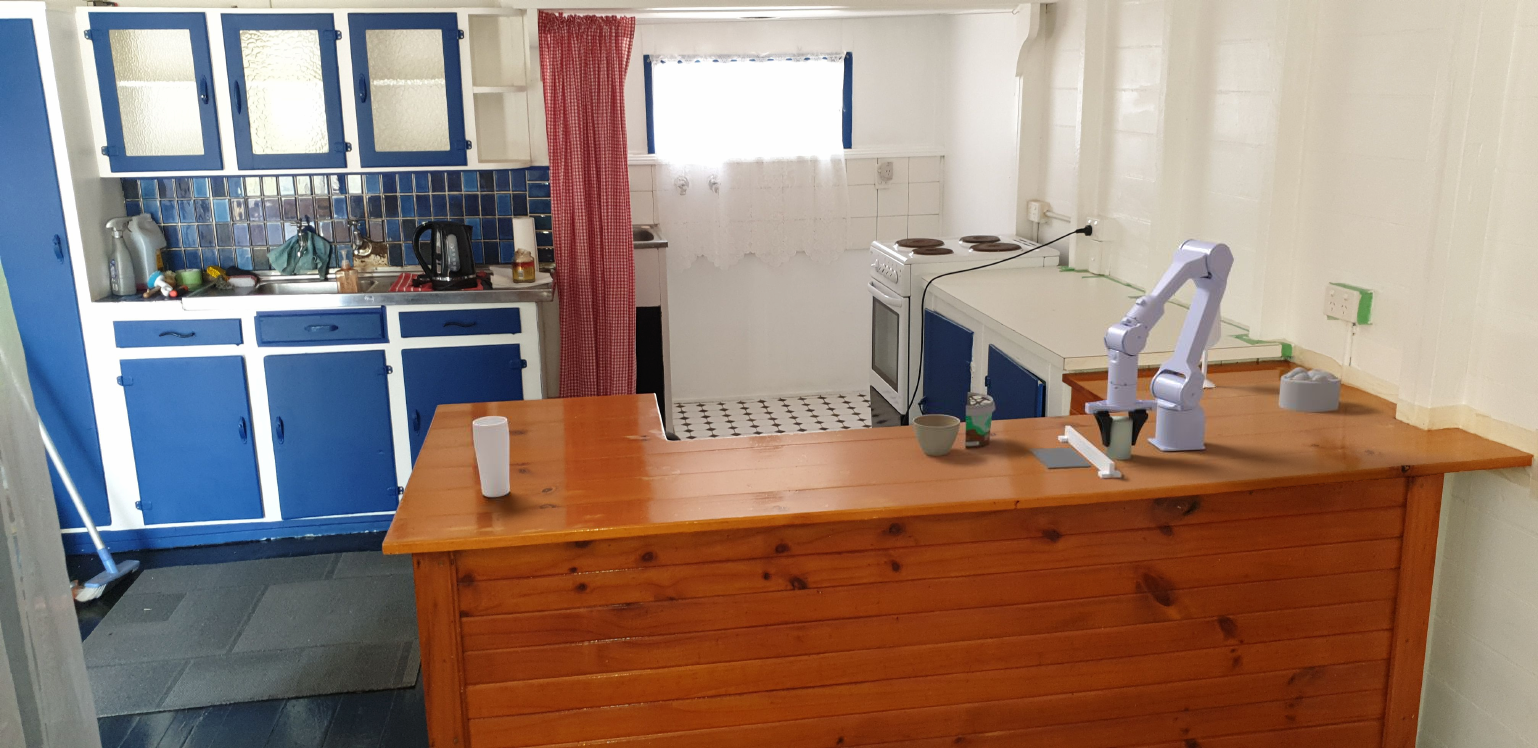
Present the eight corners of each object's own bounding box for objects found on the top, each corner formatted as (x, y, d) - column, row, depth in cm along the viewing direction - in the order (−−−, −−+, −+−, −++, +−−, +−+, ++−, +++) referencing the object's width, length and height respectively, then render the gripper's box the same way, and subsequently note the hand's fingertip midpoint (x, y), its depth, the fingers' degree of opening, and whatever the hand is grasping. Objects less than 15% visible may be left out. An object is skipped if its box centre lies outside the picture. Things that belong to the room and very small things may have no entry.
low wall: (1075, 438, 247) (1076, 425, 246) (1121, 477, 222) (1122, 462, 221) (1058, 439, 247) (1058, 426, 246) (1101, 478, 222) (1102, 463, 221)
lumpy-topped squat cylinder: (1344, 409, 264) (1348, 374, 262) (1295, 414, 262) (1298, 378, 260) (1315, 398, 274) (1318, 364, 272) (1267, 402, 272) (1270, 368, 270)
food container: (994, 452, 239) (995, 407, 237) (965, 451, 240) (965, 406, 238) (994, 435, 251) (995, 392, 248) (966, 434, 252) (967, 391, 250)
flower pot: (965, 448, 242) (965, 416, 240) (952, 462, 233) (952, 429, 232) (920, 443, 246) (920, 411, 245) (906, 456, 238) (906, 424, 236)
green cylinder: (1125, 451, 237) (1127, 415, 236) (1134, 459, 233) (1136, 422, 231) (1102, 452, 237) (1104, 416, 235) (1111, 460, 232) (1113, 423, 230)
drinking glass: (481, 488, 224) (475, 416, 220) (515, 486, 224) (510, 415, 220) (475, 500, 217) (469, 426, 213) (511, 498, 218) (505, 424, 214)
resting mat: (1071, 448, 240) (1071, 447, 240) (1091, 466, 228) (1091, 465, 228) (1030, 450, 239) (1030, 449, 239) (1048, 468, 228) (1048, 467, 228)
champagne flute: (1191, 388, 286) (1198, 295, 280) (1186, 382, 292) (1193, 291, 286) (1219, 389, 285) (1226, 296, 279) (1213, 382, 291) (1221, 291, 285)
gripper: (1148, 375, 235) (1144, 437, 239) (1081, 378, 234) (1078, 440, 238) (1162, 384, 229) (1158, 447, 232) (1093, 387, 227) (1090, 450, 231)
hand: (1118, 444), depth 234 cm, fingers closed on green cylinder, 5 cm apart
